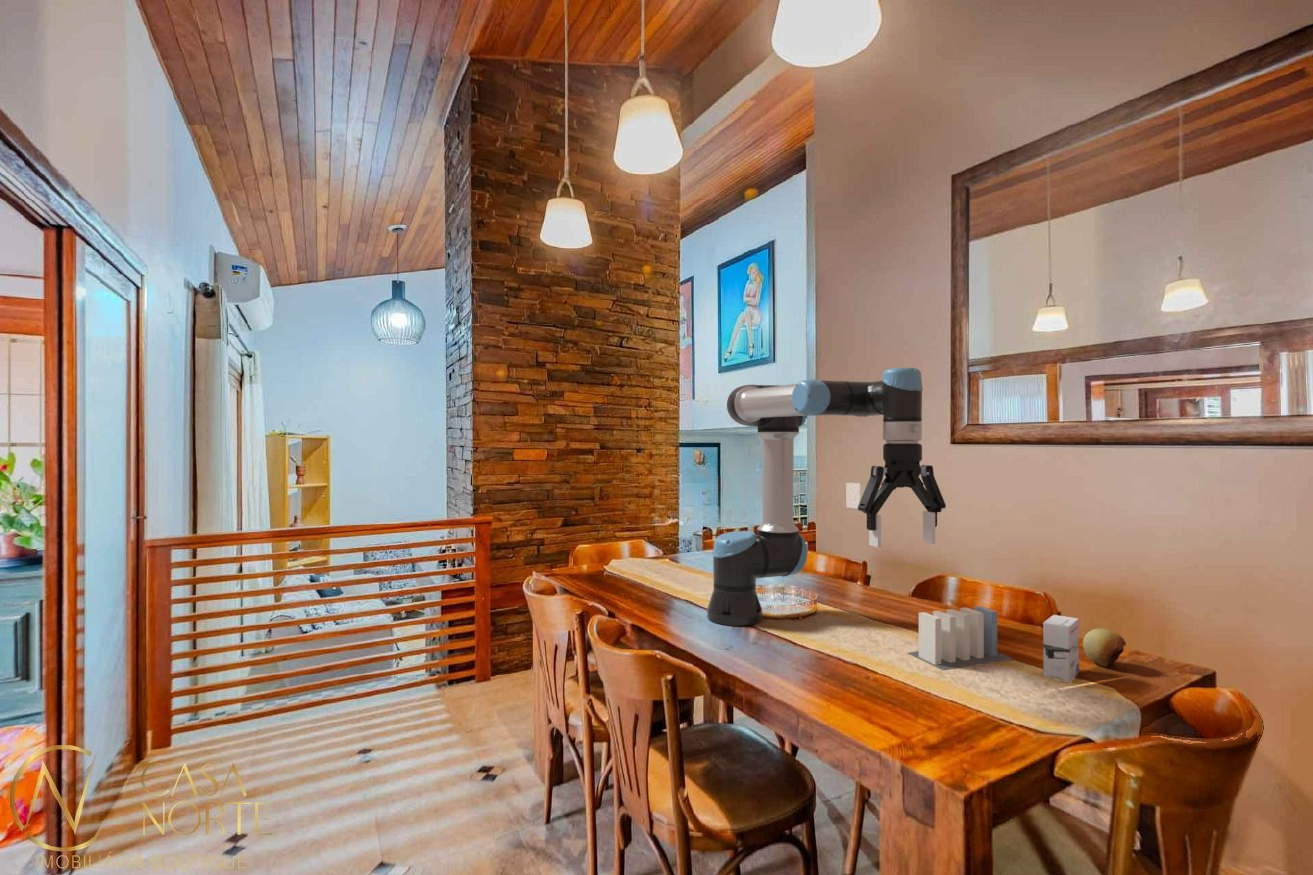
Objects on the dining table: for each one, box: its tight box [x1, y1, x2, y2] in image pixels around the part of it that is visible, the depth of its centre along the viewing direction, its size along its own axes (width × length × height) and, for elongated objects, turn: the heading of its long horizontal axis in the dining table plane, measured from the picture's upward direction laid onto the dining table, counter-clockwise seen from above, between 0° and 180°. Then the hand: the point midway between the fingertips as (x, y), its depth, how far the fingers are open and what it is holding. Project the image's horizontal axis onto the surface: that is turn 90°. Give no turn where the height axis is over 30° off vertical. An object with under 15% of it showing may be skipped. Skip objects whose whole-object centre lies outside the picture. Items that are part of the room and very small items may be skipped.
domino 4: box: [959, 606, 984, 658], centre depth 140 cm, size 2×5×10 cm, turn 19°
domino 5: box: [973, 605, 998, 656], centre depth 141 cm, size 2×5×10 cm, turn 19°
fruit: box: [1082, 628, 1127, 668], centre depth 134 cm, size 8×8×8 cm
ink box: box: [1042, 614, 1080, 683], centre depth 128 cm, size 8×5×12 cm, turn 134°
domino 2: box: [932, 610, 956, 663], centre depth 137 cm, size 2×5×10 cm, turn 19°
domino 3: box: [946, 608, 970, 660], centre depth 138 cm, size 2×5×10 cm, turn 19°
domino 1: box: [918, 611, 941, 665], centre depth 136 cm, size 2×5×10 cm, turn 19°
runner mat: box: [907, 650, 1015, 671], centre depth 139 cm, size 11×20×1 cm, turn 109°
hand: (902, 544), depth 127 cm, fingers open, 13 cm apart
